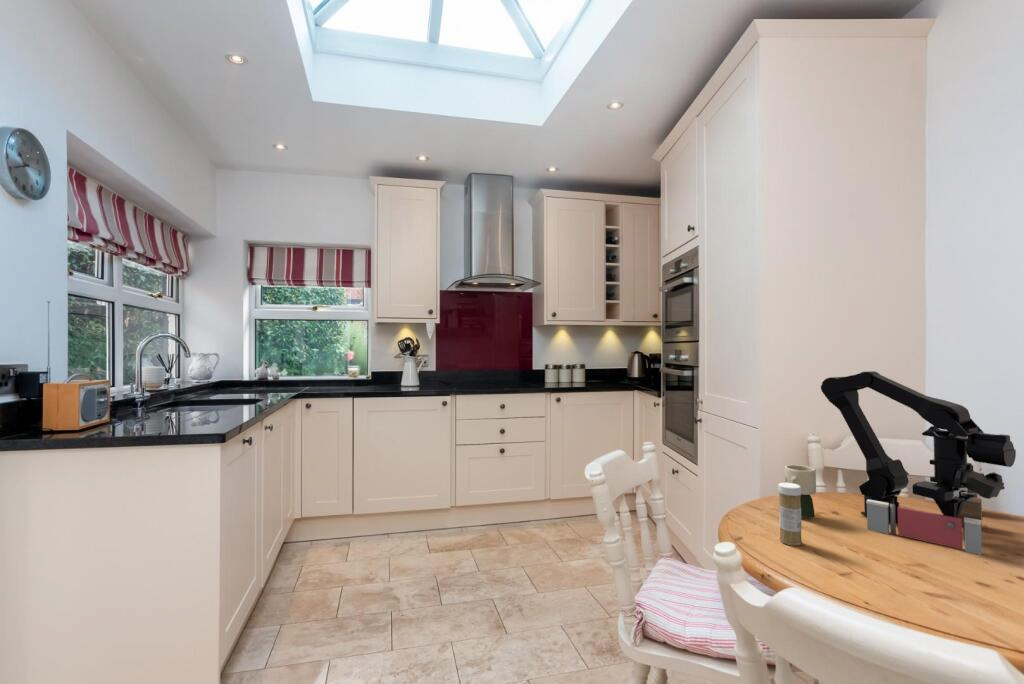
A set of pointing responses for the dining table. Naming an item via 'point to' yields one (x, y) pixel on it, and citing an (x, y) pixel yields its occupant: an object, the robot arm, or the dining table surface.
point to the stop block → (971, 510)
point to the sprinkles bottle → (790, 513)
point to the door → (930, 527)
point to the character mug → (803, 486)
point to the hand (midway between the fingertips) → (951, 523)
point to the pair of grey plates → (880, 523)
